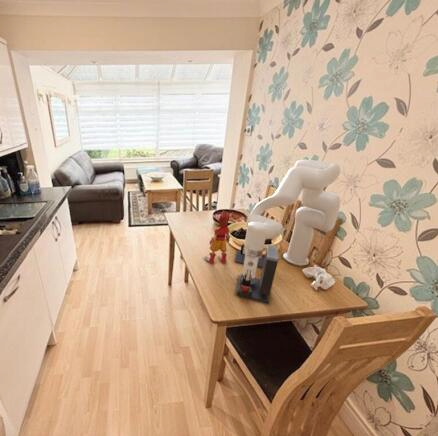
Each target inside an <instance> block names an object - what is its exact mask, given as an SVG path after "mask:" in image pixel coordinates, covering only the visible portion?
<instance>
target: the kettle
mask: <svg viewBox="0 0 438 436" xmlns="http://www.w3.org/2000/svg"><path fill="white" fill-rule="evenodd" d="M243 248H244V243H242V244H241V247H240V250H241V252H240V254H241V255H243V258H244V259H245V254H244V253H243Z"/></svg>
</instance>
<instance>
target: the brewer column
mask: <svg viewBox="0 0 438 436" xmlns="http://www.w3.org/2000/svg"><path fill="white" fill-rule="evenodd" d="M279 257H280V256H279V248H278V246H276V245H271V244H267V245H266V250H265V255H264V258H263V268H261V272H260V276H259V280H260V289H259V293H261V294H265V295H268V296H270V295H271V290H272V287H273V283H274V279H275V275H276V272H277V267H278V263H279V260H280V258H279ZM239 278H240V279H241V281H243V273H241V274H240V275H239ZM257 279H258V278H257V277H256V276H255V278H254V279H253V278H252V277H251V282H250V284H251V285H253V284H256V283H257V281H258V280H257Z"/></svg>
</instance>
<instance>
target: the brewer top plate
mask: <svg viewBox="0 0 438 436" xmlns="http://www.w3.org/2000/svg"><path fill="white" fill-rule="evenodd" d="M236 252H237V253H236V256H235V257H236V258H235V261H234V262H235V263H236V264H240V265H244V258H243V255H241V254H240V252H241V249H237V251H236ZM263 263H264V254H262V256H261V257H259V259H258V265H257V268H259V269H262V268H263Z"/></svg>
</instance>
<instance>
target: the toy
mask: <svg viewBox="0 0 438 436" xmlns="http://www.w3.org/2000/svg"><path fill="white" fill-rule="evenodd" d="M213 217H214V218H215V219H216V220H217V223H218V225H219V227H218V228H217V229H216V228H215V230H214V235H213V237H212V236H211V239H210V240H209V250H210V251H211V252H209V255H207V256H206V257H205V258H204V259H205V260H206V261H207V262H208V263H210V264H214V263H215V258H216V256H217V254H216V252H218V251H220V255H219V260H220V261H221V262H222V264H226V261H227V260H226V258H227V253H226V252H227V249H228V248H227V244H228V243H229V242H230V239H231V235H230V228H229V226H228V224H229V220H230V215H228V214H227V213H226V211H225V210H224V209H223V210H222V211H221V213H220V214H218V213H215V214H214V215H213Z"/></svg>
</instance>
